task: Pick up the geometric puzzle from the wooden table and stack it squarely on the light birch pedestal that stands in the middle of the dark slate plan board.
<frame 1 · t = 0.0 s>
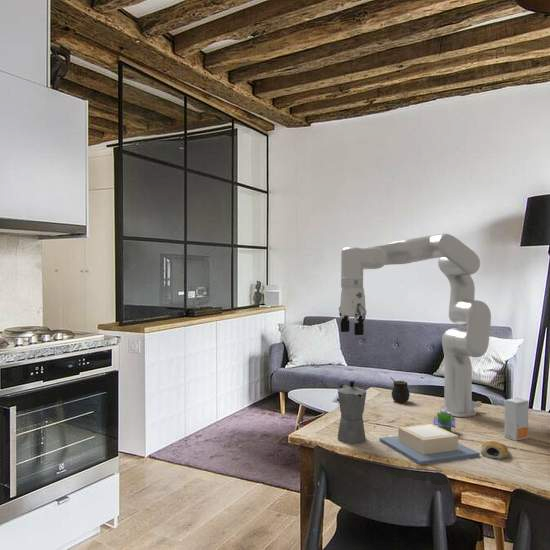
hand: (351, 333, 165), 31 cm above the table, tool pointing down, fingers open, 9 cm apart
skincare box: (516, 438, 152), on the table
pastry: (494, 455, 138), on the table
geometric puzzle: (444, 432, 157), on the table
coffeepot: (350, 438, 151), on the table
mate gourd: (400, 402, 196), on the table
plan board: (427, 448, 142), on the table
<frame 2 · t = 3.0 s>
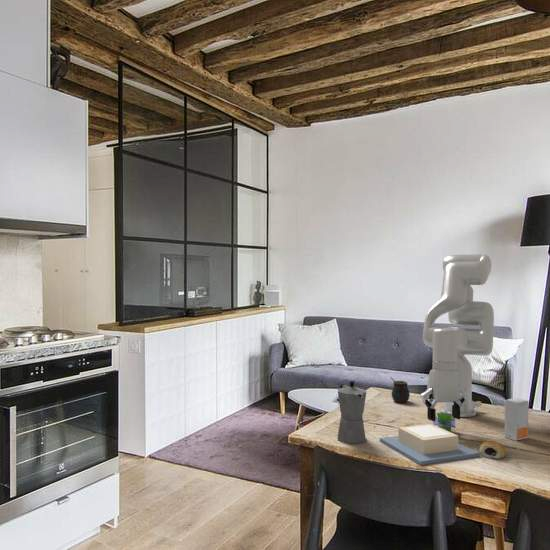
hand: (443, 419, 157), 4 cm above the table, tool pointing down, fingers open, 9 cm apart
geometric puzzle: (444, 432, 157), on the table, touching gripper
everything else where it was.
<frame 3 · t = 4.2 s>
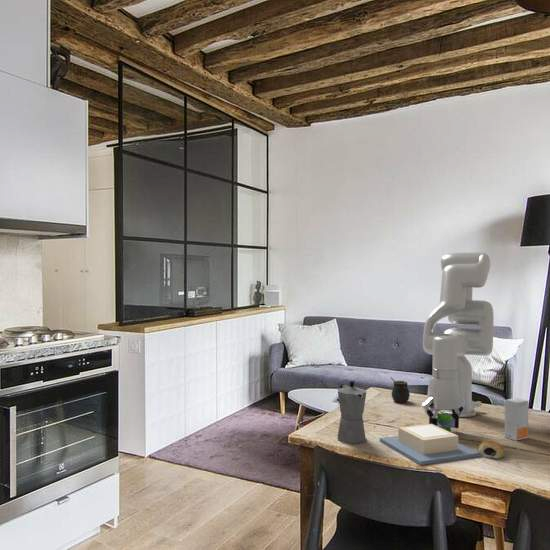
hand: (444, 428, 157), 1 cm above the table, tool pointing down, fingers closed on geometric puzzle, 7 cm apart
geometric puzzle: (443, 433, 157), on the table, touching gripper
everything else where it was.
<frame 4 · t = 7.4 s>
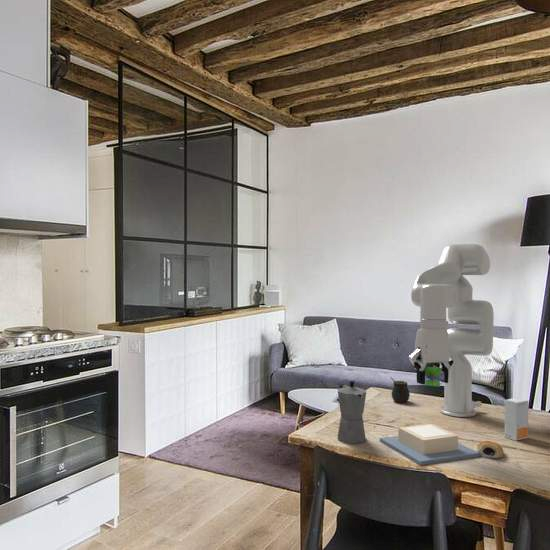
hand: (432, 382, 146), 19 cm above the table, tool pointing down, fingers closed on geometric puzzle, 7 cm apart
geometric puzzle: (432, 387, 146), point 17 cm above the table, touching gripper
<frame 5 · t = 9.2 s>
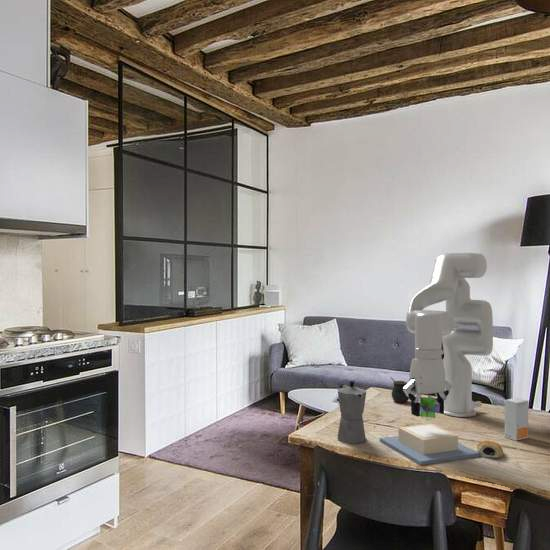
hand: (427, 413, 142), 10 cm above the table, tool pointing down, fingers closed on geometric puzzle, 7 cm apart
geometric puzzle: (427, 419, 142), point 9 cm above the table, touching gripper
when the fingers open (7 cm above the table, at t = 10.8 s): geometric puzzle stays where it is, resting on plan board.
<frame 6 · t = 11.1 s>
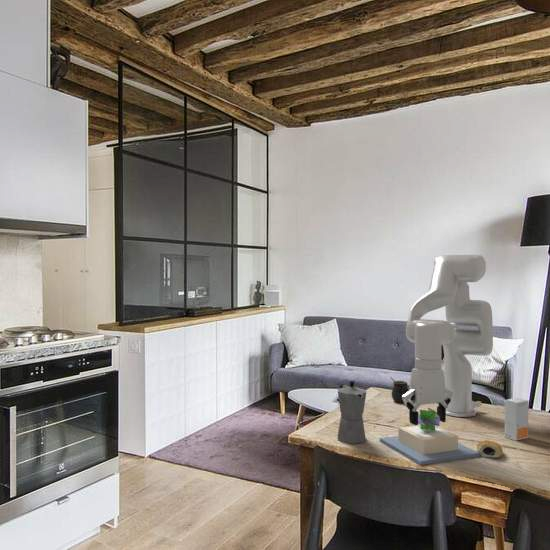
hand: (427, 422, 142), 8 cm above the table, tool pointing down, fingers open, 9 cm apart
pastry: (489, 454, 138), on the table, touching plan board
geometric puzzle: (427, 431, 142), point 5 cm above the table, touching plan board
everything else where it was.
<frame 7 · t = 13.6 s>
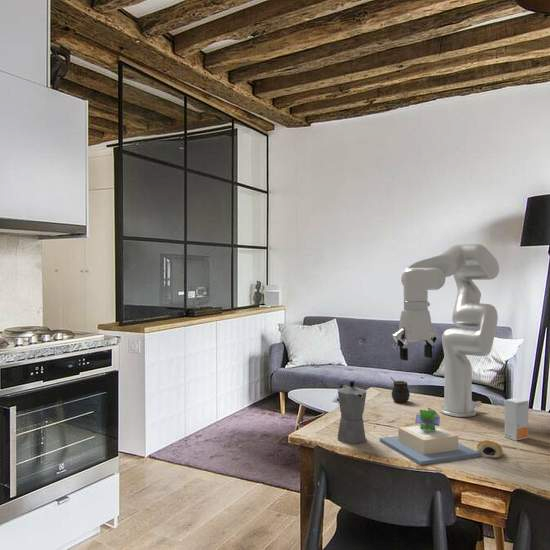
hand: (416, 358, 158), 24 cm above the table, tool pointing down, fingers open, 9 cm apart
pastry: (489, 454, 139), on the table
everything else where it was.
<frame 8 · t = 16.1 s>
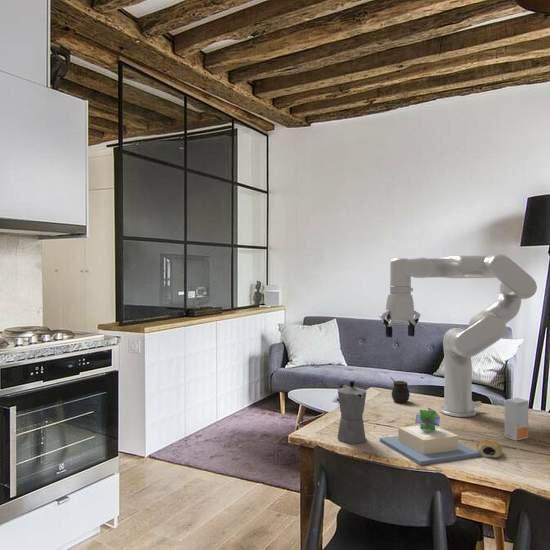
hand: (400, 336, 181), 28 cm above the table, tool pointing down, fingers open, 9 cm apart
nothing on the table moved.
at the end: geometric puzzle 0.2 cm off-centre on the plan board, point 4.9 cm above the plan board's base; geometric puzzle tilted 1°; the gripper is holding nothing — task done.
